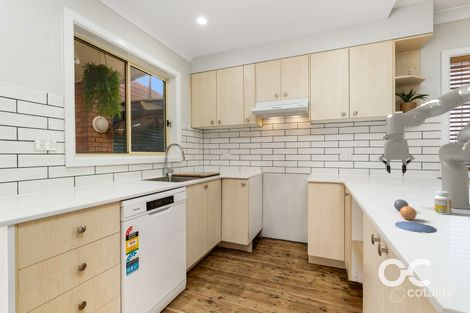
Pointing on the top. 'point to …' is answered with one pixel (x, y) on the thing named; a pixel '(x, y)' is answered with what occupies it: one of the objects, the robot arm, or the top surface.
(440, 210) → the supplement bottle
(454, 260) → the top surface
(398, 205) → the grey ball
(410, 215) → the object ball
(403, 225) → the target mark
